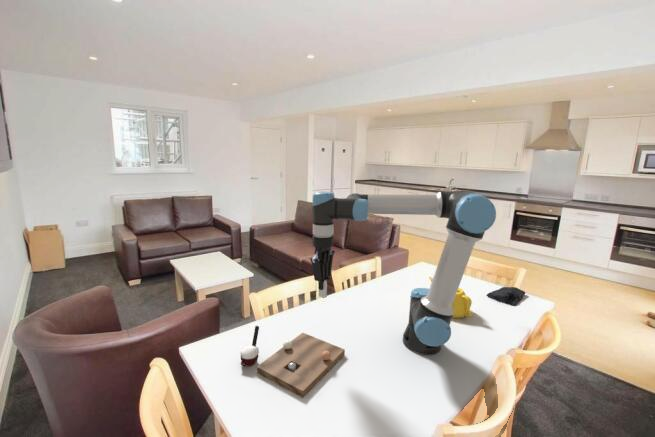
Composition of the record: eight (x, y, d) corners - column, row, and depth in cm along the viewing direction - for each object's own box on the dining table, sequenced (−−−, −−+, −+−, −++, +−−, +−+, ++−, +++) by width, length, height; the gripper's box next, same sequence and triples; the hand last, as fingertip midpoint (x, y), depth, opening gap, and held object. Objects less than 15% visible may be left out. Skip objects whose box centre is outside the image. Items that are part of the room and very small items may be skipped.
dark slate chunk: (530, 297, 175) (531, 289, 174) (513, 307, 162) (514, 299, 161) (501, 287, 187) (502, 280, 186) (483, 297, 174) (484, 289, 173)
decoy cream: (293, 347, 118) (293, 340, 118) (288, 352, 116) (288, 344, 115) (287, 345, 120) (287, 337, 120) (281, 349, 118) (281, 341, 117)
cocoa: (243, 373, 108) (241, 343, 105) (234, 363, 113) (232, 334, 110) (266, 360, 115) (265, 332, 112) (258, 352, 119) (256, 324, 116)
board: (344, 355, 119) (344, 349, 118) (302, 398, 97) (302, 391, 97) (302, 338, 129) (302, 332, 129) (256, 373, 108) (256, 366, 107)
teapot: (416, 304, 162) (418, 279, 160) (438, 296, 172) (440, 273, 169) (459, 326, 142) (462, 298, 139) (481, 316, 152) (484, 289, 149)
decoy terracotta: (332, 358, 113) (332, 350, 112) (327, 363, 110) (327, 355, 109) (324, 355, 114) (325, 347, 114) (320, 360, 112) (320, 352, 111)
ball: (297, 362, 108) (291, 370, 106) (299, 368, 110) (293, 375, 108) (290, 359, 110) (284, 366, 108) (292, 364, 112) (286, 372, 110)
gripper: (324, 230, 119) (323, 288, 124) (303, 237, 108) (304, 300, 113) (341, 232, 115) (340, 292, 120) (321, 240, 104) (321, 306, 109)
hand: (322, 296), depth 116 cm, fingers closed
